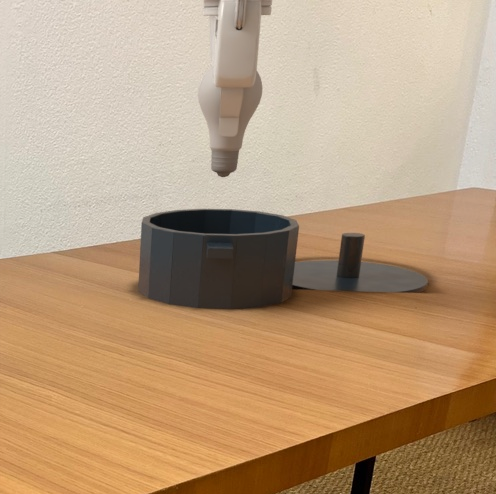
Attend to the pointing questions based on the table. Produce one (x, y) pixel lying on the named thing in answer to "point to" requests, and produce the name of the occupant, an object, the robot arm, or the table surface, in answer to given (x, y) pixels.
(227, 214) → the pot
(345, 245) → the pot lid
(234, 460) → the table surface
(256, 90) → the lightbulb
